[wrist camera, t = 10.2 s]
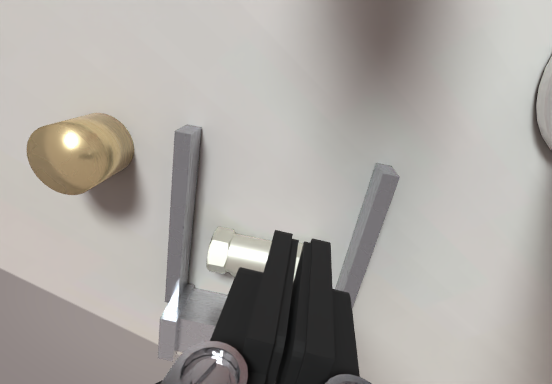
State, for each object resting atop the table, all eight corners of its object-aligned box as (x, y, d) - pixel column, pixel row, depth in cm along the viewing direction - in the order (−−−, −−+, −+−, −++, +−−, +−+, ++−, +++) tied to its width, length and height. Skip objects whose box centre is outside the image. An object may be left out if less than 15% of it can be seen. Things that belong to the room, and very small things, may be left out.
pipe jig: (391, 166, 25) (409, 189, 21) (327, 350, 33) (330, 394, 29) (186, 124, 25) (161, 138, 21) (172, 317, 33) (152, 357, 29)
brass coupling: (134, 119, 26) (96, 133, 21) (133, 177, 28) (99, 201, 23) (73, 107, 26) (22, 118, 21) (77, 165, 28) (31, 187, 23)
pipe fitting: (293, 293, 32) (308, 238, 28) (290, 325, 28) (307, 267, 25) (213, 276, 32) (220, 220, 29) (201, 307, 28) (207, 246, 25)
